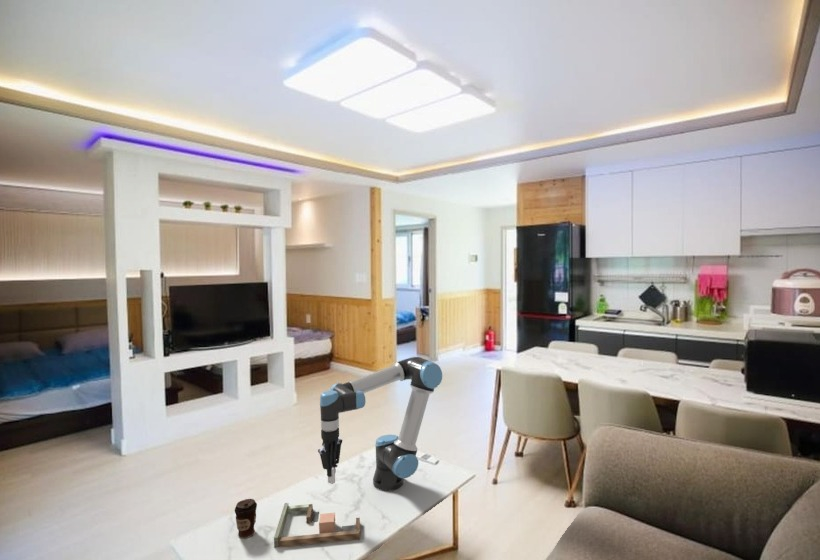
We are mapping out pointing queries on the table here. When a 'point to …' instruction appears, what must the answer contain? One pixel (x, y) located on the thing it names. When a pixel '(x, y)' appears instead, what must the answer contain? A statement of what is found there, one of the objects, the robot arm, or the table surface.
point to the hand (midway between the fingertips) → (331, 482)
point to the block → (327, 523)
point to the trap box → (344, 535)
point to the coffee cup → (246, 517)
